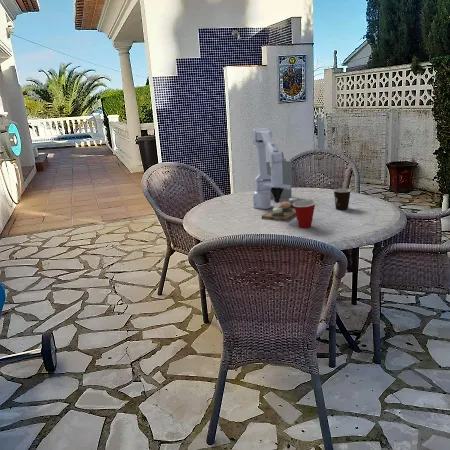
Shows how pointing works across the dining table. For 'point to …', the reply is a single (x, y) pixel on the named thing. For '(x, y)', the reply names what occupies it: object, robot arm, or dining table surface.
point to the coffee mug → (342, 198)
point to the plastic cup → (304, 212)
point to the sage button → (277, 210)
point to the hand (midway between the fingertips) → (277, 202)
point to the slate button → (293, 200)
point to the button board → (281, 214)
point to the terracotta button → (285, 204)
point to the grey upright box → (283, 177)
